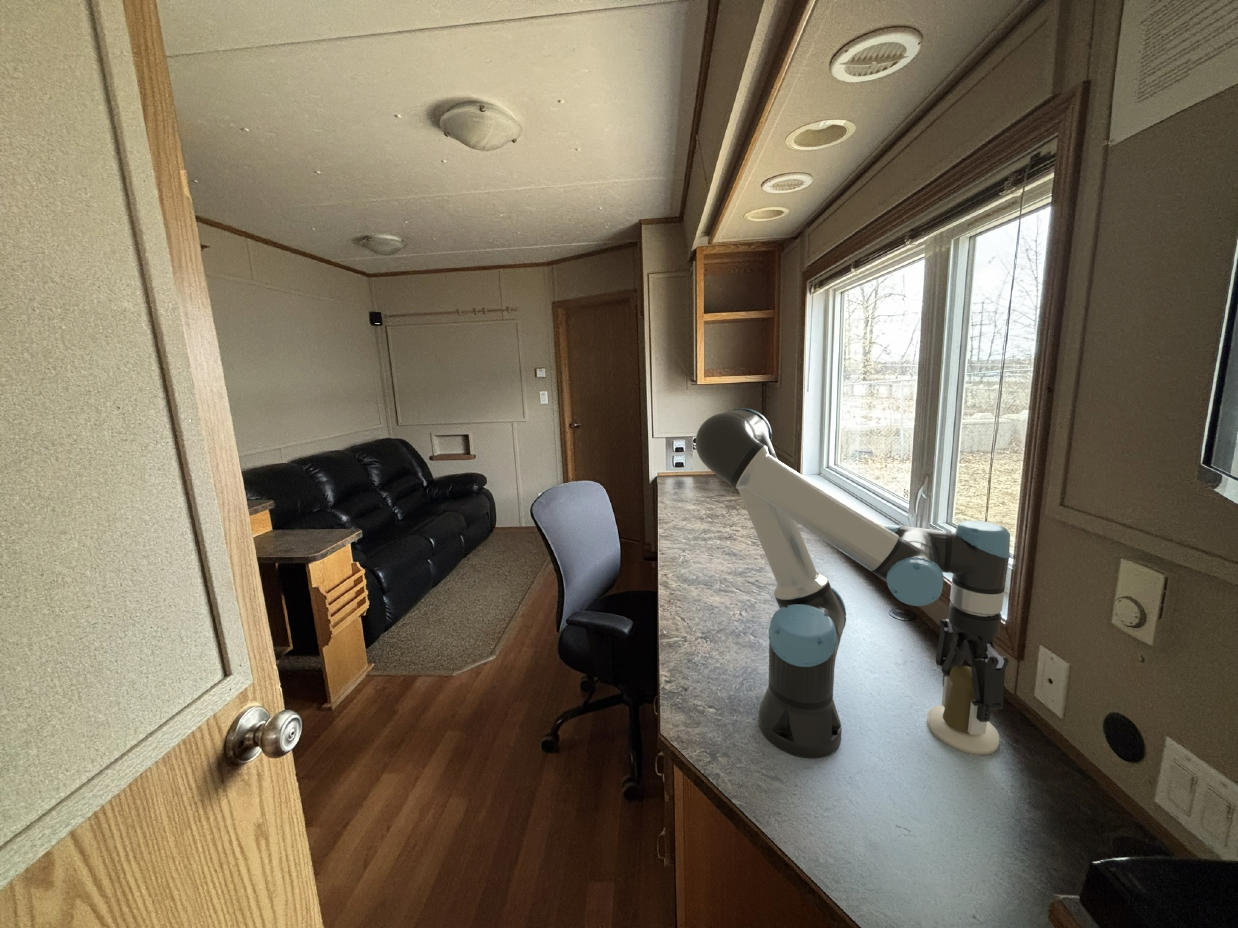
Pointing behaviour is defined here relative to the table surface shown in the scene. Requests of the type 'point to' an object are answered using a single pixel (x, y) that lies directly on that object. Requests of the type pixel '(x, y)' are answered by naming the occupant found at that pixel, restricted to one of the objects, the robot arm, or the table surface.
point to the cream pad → (962, 735)
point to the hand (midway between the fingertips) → (962, 718)
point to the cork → (959, 699)
